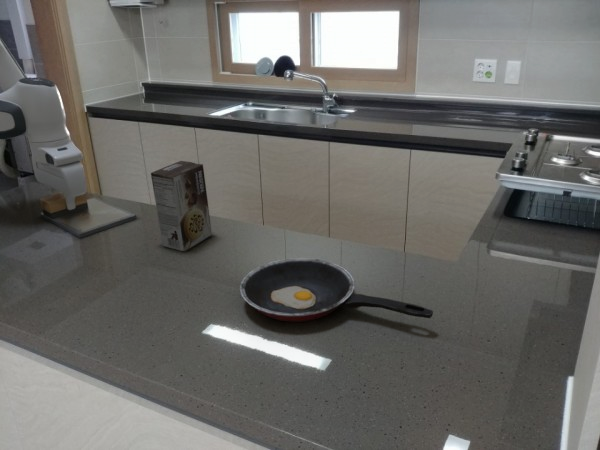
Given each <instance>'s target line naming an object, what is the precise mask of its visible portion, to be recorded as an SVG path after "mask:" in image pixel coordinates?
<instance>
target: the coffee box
mask: <svg viewBox="0 0 600 450" xmlns="http://www.w3.org/2000/svg"><path fill="white" fill-rule="evenodd" d="M150 177H151V183H152V189H153V195H154V202H155V207H156V213H157V220H158V226H159V232H160V239H161V244H162V247H165V248H169V249H173V250H177V251H180V252H186V251H187V250H189V249H191V248H193V247H195V246H196V245H197V244H199V243H201V242H203V241H204V240H206V239H207V238H209V237H211V236H212V235H213V231H212V223H211V216H210V208H209V199H208V193H207V192H208V191H207V184H206V177H205V169H204V164H202V163H196V162H193V161H187V160H186V161H185V160H179V161H176V162H174V163H172V164H169V165H167V166H164V167H162V168H159V169H156V170H154V171H152V172H150Z"/></svg>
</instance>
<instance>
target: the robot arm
mask: <svg viewBox="0 0 600 450" xmlns="http://www.w3.org/2000/svg"><path fill="white" fill-rule="evenodd" d="M0 88H1V89H2V91H3V92H1V93H0V140H10V139H13V138H17V137H19V136H25V137H26V138H27V141H28V145H29V149H30V153H31V163H32V168H33V174H34V177H35V179H36V181H37V183H39V184H41V185H44V186H46V187H47V190H48V191H49V193H50V196H51V195H55V194H58V193H64V197H66V202H64V203H65V207H66V208H67V209H68V210H72V209H75V202H74V201H75V197H76V196H80V195H83V194H86V193H87V187H88V186H87V180H86V173H85V170H84V165H83V163H82V162H81V161H83V160H84V156H83V152H82V151H81V150H80V149H79V148H78V147H77V146H76V145H75V143H74V141H73V140H72V138H71V134H70V131H69V129H68V127H67V124H66V121H67V114H66V110H65V106H64V102H63V99H62V95H61V93H60V91H59V88H58V86H57V85H56V83H54V82H53V81H52V80H50V79H47V78H43V77H31V76H30V77H28V76H27V75H26V73H25V72H24V70H23V69H22V67H21V65H20V64H19V62H18V61H17V59H16V58H15V56H14V55H13V53H12V51H11V50H10V49H9V47H8V45H7V44H6V43H5V41H4V40H3V38H2V37H1V36H0Z"/></svg>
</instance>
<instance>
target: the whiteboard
mask: <svg viewBox="0 0 600 450" xmlns="http://www.w3.org/2000/svg"><path fill="white" fill-rule="evenodd" d="M86 199H87V203H88V208H87V209H84V210H80V211H77V212H74V213H71V214H67V215H64V216H61V217H58V218H55V219H51V218H49V217H47V216H45V215H44V214H43V212H40V215H41V216H40V217H41V218H42V219H45V220H46V221H48V222H50V223H51V224H54V225H55V226H57V227H59V228H61V229H63V230H65V231H67V232H68V233H70V234H72V235H73V236H76V238H79V239H82V238H85V237H87V236H91V235H94V234H96V233H100V232H102V231H105V230H108V229H111V228H114V227H117V226H119V225H122V224H123V225H124V224H126V223H128V222H131V221H133V220H134V221H135V220H137V215H136V213H134V212H130V211H128V210H126V209H123V208H122V207H119V206H116V205H114V204H112V203H109V202H108V201H105V200H102V199H100V198H98V197H95V196H93V197H91V198H86Z"/></svg>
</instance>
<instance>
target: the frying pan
mask: <svg viewBox="0 0 600 450" xmlns="http://www.w3.org/2000/svg"><path fill="white" fill-rule="evenodd" d="M239 290H240V295H241V297H242V298H243V300H244V301H245V302H246V303H247V304H248V305H250V306H251V307H253V308H254V309H255V310H256V311H257V312H259V313H261V314H263V315H264V316H266V317H268V318H271V319H273V320H276V321H280V322H281V321H282V322H288V323H303V322H308V321H309V322H310V321H314V320H318V319H320V318H323V317H325V316H327V315H328V314H330V313H332V312H333V311H335V310H336V309H338V308H339V307H344V308H345V309H356V308H362V307H363V308H376V309H377V308H379V309H385V310H387V311H388V310H389V311H392V312H395V313H398V314H402V315H407V316H412V317H415V318H425V319H431V318H432V317H433V315H434V310H432V309H429V308H426V307H423V306H421V305H418V304H414V303H409V302H404V301H399V300H394V299H389V298H386V297H378V296H371V295H366V294H361V293H353V292H354V290H355V280H354V278H353V276H352V274H351V273H350V272H349V271H348V270H346V269H345V267H342V266H341V265H338V264H336V263H333V262H331V261H327V260H325V259H324V260H323V259H318V258H309V257H308V258H307V257H294V258H293V257H292V258H285V259H279V260H273V261H271V262H270V261H269V262H267V263H264V264H262V265H260V266H258V267H256V268H254V269H253V270H251V271H250V272H248V273H247V275H245V276H244V277H243V279H242V280H241V282H240V286H239ZM352 293H353V294H352Z"/></svg>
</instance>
